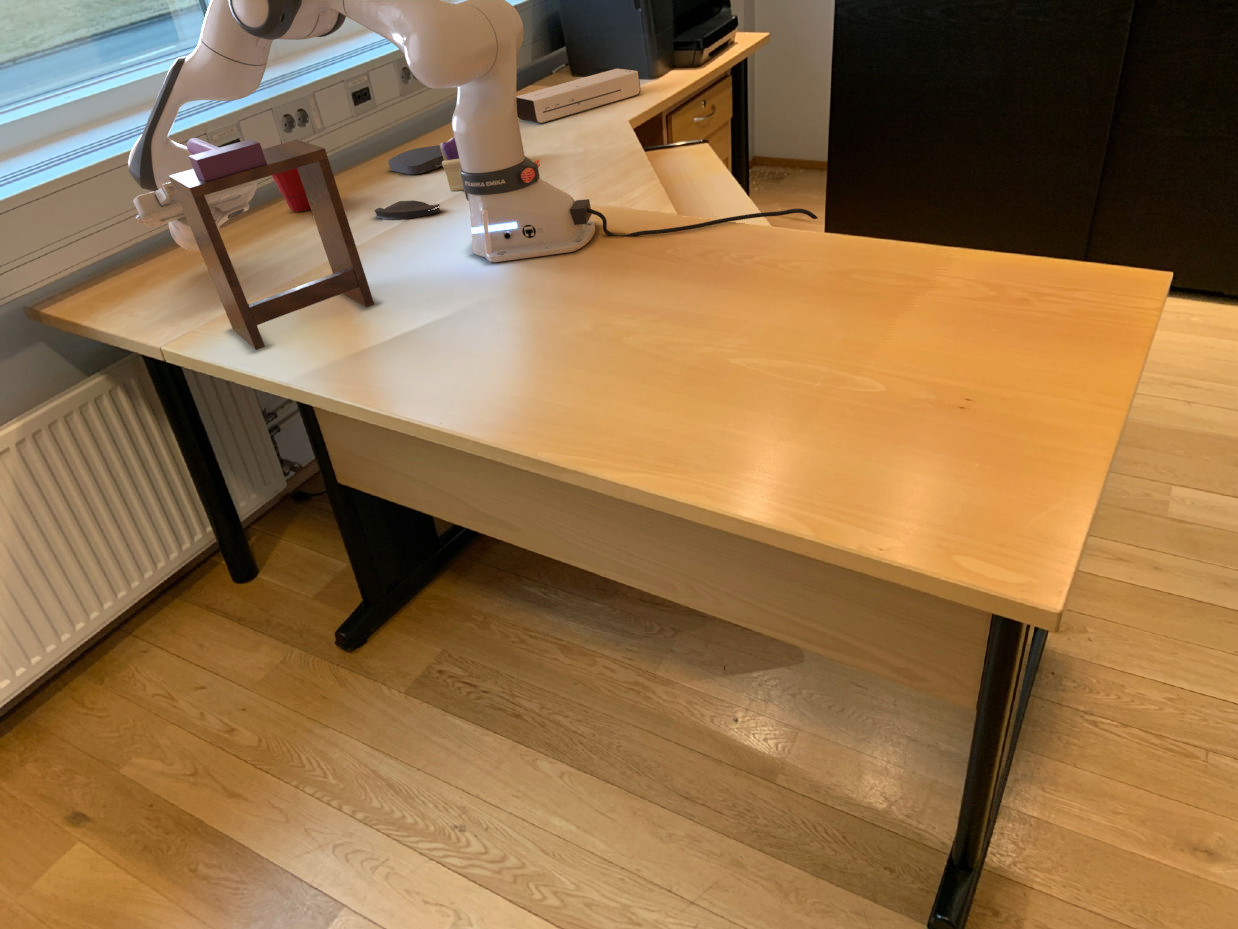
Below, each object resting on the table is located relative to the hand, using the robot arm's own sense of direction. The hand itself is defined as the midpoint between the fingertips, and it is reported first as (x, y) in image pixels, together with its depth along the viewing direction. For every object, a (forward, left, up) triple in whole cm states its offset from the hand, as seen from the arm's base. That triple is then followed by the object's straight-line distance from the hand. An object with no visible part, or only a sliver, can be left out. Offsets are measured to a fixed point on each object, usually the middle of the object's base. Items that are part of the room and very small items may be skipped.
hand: (197, 179), depth 149 cm
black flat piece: (-17, -37, -20) cm, 45 cm away
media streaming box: (-6, -74, -20) cm, 77 cm away
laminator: (-33, -120, -20) cm, 126 cm away
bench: (-20, +13, -20) cm, 31 cm away
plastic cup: (+14, -47, -20) cm, 53 cm away
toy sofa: (-25, -60, -20) cm, 68 cm away
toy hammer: (-14, +12, +5) cm, 19 cm away
